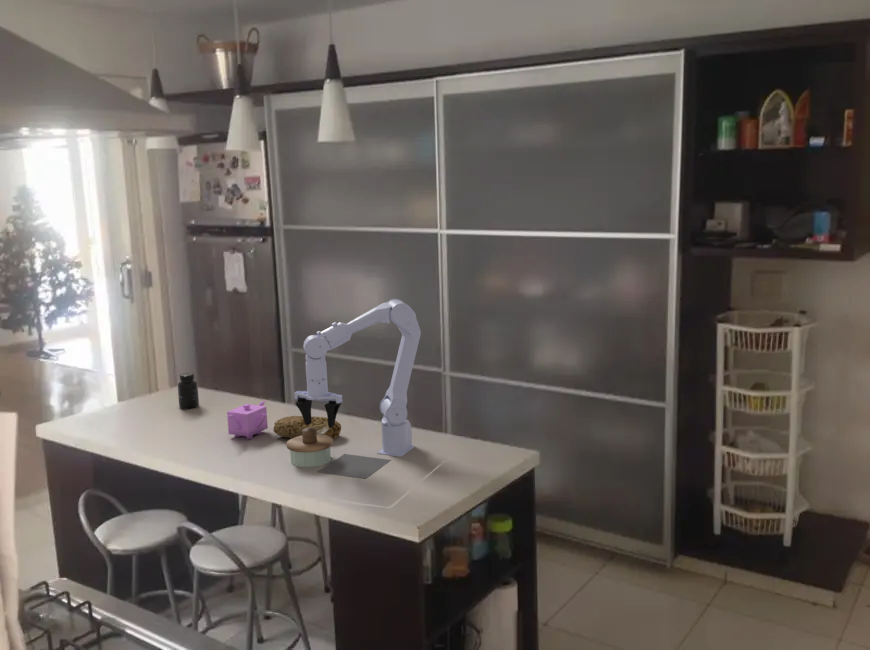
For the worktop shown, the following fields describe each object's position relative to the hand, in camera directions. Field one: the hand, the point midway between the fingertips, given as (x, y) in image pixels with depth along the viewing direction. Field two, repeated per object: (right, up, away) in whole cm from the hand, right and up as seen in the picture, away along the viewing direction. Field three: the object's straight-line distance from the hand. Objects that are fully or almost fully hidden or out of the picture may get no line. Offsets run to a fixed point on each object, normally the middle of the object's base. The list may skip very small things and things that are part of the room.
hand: (319, 425), depth 227 cm
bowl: (-3, -10, +1) cm, 11 cm away
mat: (+10, -11, -4) cm, 16 cm away
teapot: (-25, -6, +26) cm, 37 cm away
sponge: (-7, -7, +22) cm, 25 cm away
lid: (-3, -5, 0) cm, 6 cm away
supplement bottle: (-55, -1, +59) cm, 80 cm away
